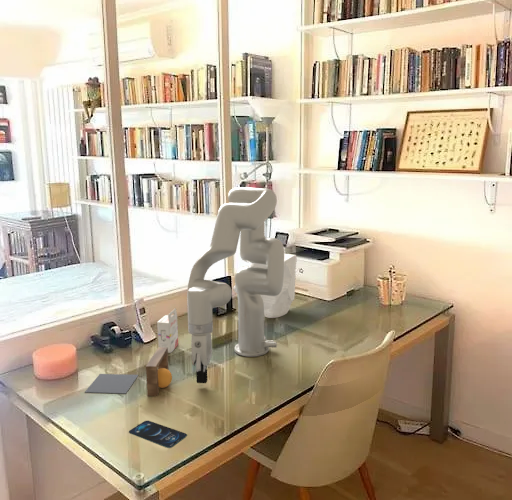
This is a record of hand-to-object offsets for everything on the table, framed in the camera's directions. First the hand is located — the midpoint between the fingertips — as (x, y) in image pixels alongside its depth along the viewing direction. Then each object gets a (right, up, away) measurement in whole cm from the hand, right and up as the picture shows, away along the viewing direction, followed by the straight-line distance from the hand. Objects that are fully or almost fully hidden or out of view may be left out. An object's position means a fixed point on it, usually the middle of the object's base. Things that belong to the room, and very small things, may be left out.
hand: (202, 381), depth 170 cm
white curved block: (+23, +14, +75) cm, 80 cm away
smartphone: (-9, -8, -26) cm, 29 cm away
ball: (-12, +1, 0) cm, 13 cm away
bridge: (-14, -1, +1) cm, 14 cm away
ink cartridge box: (-16, +5, +31) cm, 35 cm away
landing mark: (-29, -1, +3) cm, 29 cm away
